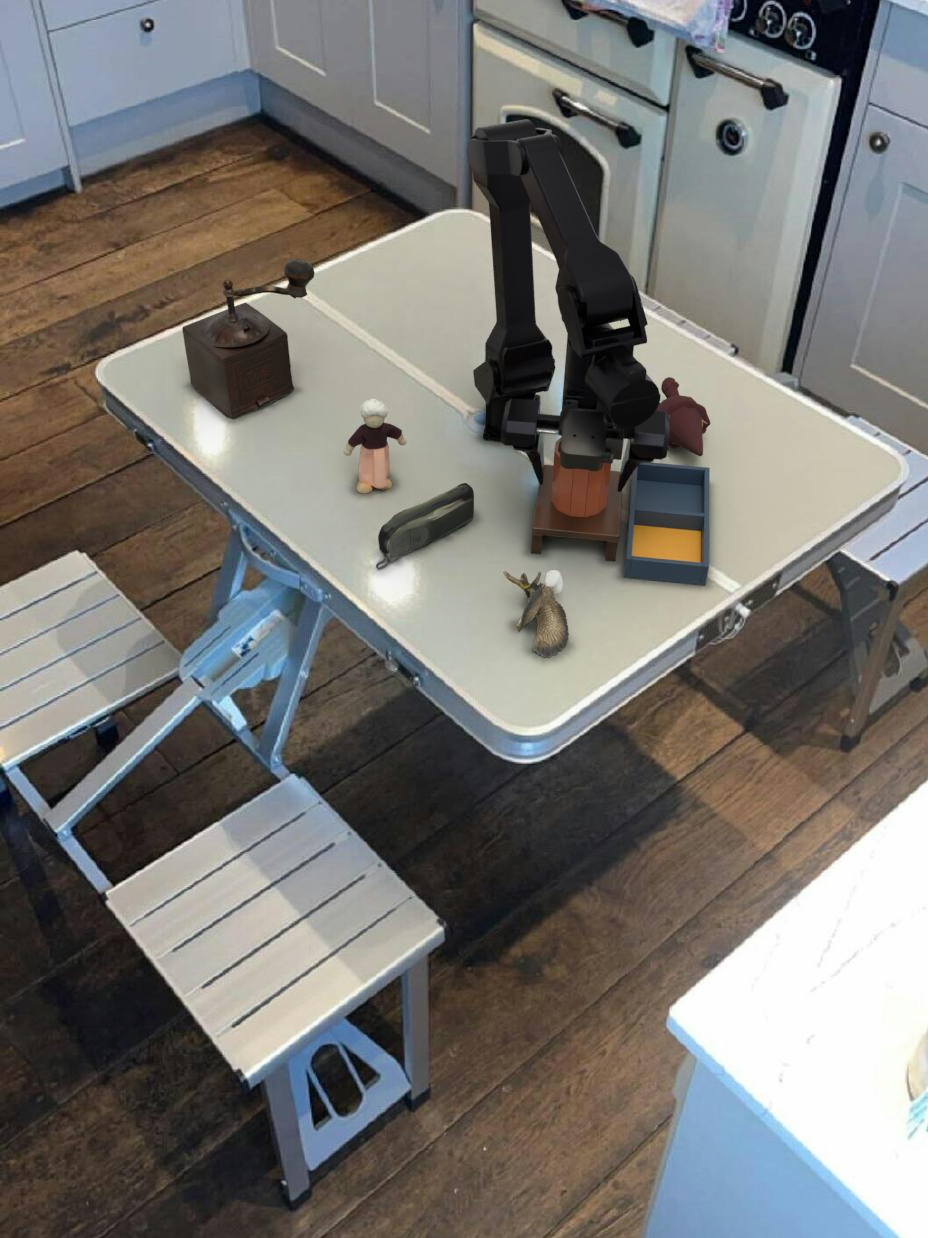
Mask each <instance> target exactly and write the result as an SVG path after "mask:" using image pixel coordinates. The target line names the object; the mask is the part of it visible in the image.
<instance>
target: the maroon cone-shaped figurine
mask: <svg viewBox="0 0 928 1238" xmlns="http://www.w3.org/2000/svg"><path fill="white" fill-rule="evenodd" d="M679 387H680V384H679V382H678V381H676V379H675V378H673V377H671V376H668V377H665V378H664V379H663V380H662V382H661V387H660V389H661V390H660V391H661V393H662V394H663V395H664V396H665V399H663V400H662V401H660V402H659V405H658V407H657V409H656V411H662V412H666V413H667V414H668V415H669V417H670V430H669V444H668V447H669V448H672V449H678V448H683V449H685V450H686V451H688V452H690V453H693V454H694V455H696V456H698V457H702V456H703V455H704V441H703V440H704V439H703V438H704V437H703V435H704V434H705V433H706V432H707V429H708V427H709V426H711V420H710V418H709V416H708V413H707V409H706V407H705V406H704V405H702V404H700V403H697V401H696V400H695V399H694V398H693V397H691V396H689V395H688V396H687V395H680V392H679Z"/></svg>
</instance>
